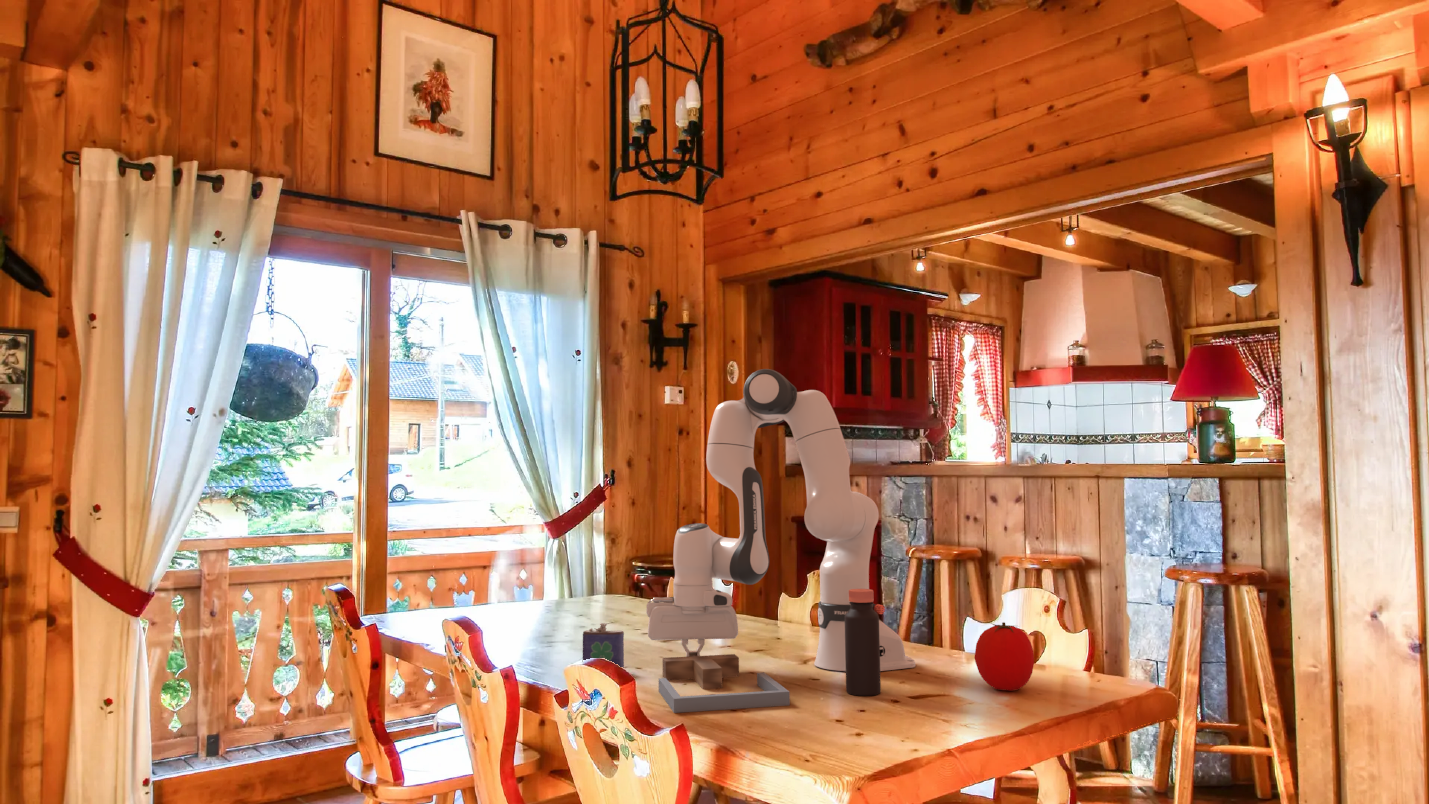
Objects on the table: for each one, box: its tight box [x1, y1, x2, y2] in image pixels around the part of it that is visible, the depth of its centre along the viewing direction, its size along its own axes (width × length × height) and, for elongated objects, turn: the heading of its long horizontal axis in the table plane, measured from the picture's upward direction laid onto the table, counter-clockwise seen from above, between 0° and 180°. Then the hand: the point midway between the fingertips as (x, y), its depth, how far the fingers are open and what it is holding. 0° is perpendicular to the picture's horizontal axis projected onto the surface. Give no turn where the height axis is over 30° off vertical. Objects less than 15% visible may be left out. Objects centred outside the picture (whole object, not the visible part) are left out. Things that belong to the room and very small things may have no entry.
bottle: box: [845, 588, 882, 697], centre depth 186 cm, size 7×7×20 cm
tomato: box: [974, 621, 1035, 692], centre depth 187 cm, size 12×12×13 cm
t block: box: [662, 653, 740, 690], centre depth 197 cm, size 16×14×4 cm
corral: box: [658, 671, 791, 714], centre depth 182 cm, size 22×18×2 cm
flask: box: [582, 622, 625, 669], centre depth 208 cm, size 9×3×11 cm, turn 87°
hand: (692, 659), depth 210 cm, fingers closed
